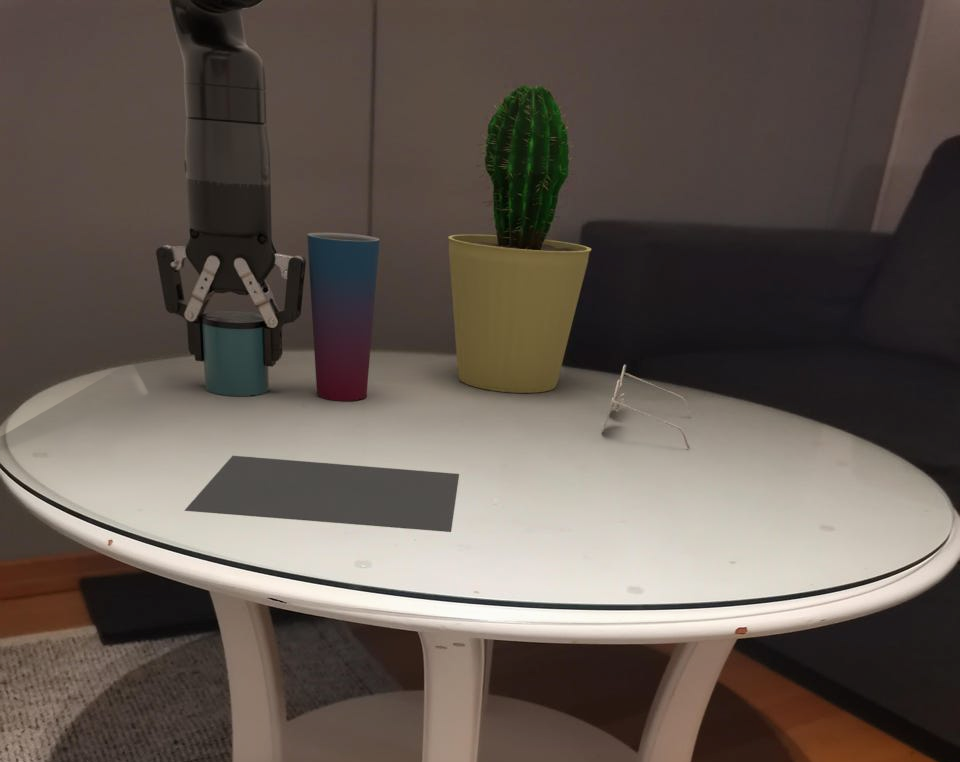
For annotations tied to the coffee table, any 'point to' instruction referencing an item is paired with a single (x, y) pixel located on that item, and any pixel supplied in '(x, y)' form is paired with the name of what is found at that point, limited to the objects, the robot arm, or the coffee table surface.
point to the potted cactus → (518, 256)
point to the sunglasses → (620, 404)
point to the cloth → (331, 493)
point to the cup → (342, 311)
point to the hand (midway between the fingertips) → (235, 361)
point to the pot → (234, 353)
